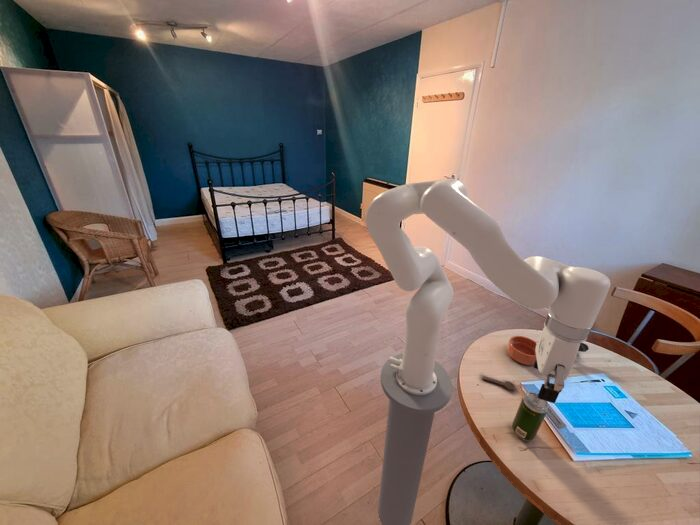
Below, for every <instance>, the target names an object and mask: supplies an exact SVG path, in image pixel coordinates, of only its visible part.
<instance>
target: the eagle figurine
mask: <svg viewBox="0 0 700 525" xmlns="http://www.w3.org/2000/svg"><path fill="white" fill-rule="evenodd" d="M589 350H590V348H589V345H588V344H586V343H584V342H581V343H580V346H579V350H578V352H581V353H585V352H587V351H589ZM578 354H579V353H577V356H578Z"/></svg>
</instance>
